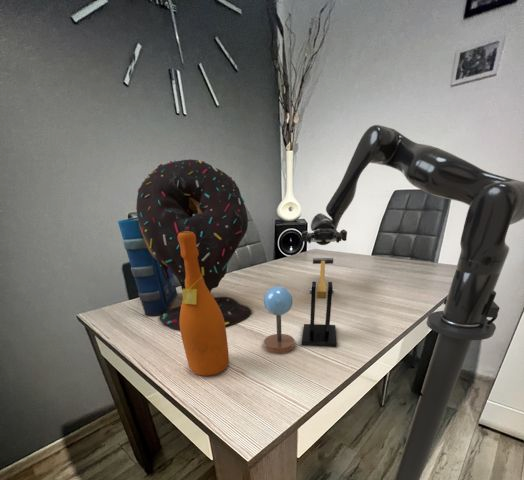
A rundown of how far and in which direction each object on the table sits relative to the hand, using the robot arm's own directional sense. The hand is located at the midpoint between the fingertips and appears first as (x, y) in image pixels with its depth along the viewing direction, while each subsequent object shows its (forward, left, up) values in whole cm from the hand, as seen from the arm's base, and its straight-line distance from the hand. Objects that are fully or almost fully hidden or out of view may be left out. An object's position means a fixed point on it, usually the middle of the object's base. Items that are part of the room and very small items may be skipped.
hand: (323, 239), depth 83 cm
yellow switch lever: (-3, +16, -8) cm, 18 cm away
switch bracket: (-4, +22, -22) cm, 31 cm away
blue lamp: (+5, +30, -22) cm, 37 cm away
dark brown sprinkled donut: (+37, +14, -22) cm, 45 cm away
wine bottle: (+18, +44, -22) cm, 52 cm away
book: (+58, +11, -22) cm, 63 cm away
